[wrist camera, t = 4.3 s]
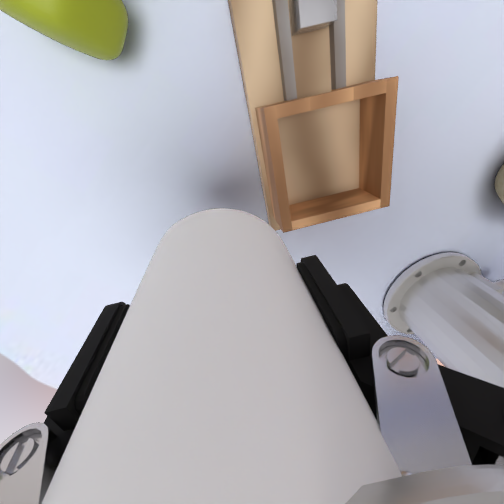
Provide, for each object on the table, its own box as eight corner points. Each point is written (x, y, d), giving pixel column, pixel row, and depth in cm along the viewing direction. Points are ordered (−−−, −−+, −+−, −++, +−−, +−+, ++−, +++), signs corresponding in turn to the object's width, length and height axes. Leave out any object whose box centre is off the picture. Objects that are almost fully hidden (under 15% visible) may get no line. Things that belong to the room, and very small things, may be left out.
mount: (371, -200, 15) (435, -318, 11) (364, 202, 27) (392, 219, 23) (197, -164, 14) (193, -273, 10) (269, 226, 26) (280, 248, 22)
